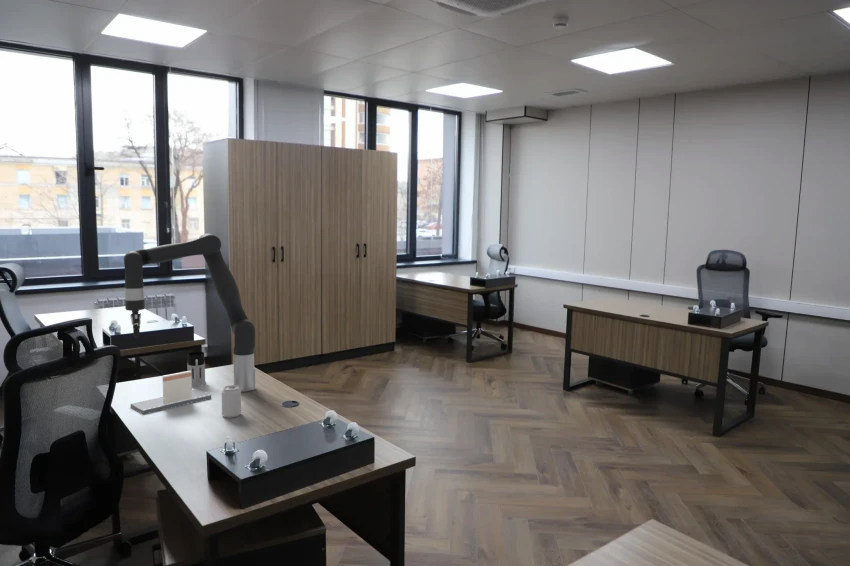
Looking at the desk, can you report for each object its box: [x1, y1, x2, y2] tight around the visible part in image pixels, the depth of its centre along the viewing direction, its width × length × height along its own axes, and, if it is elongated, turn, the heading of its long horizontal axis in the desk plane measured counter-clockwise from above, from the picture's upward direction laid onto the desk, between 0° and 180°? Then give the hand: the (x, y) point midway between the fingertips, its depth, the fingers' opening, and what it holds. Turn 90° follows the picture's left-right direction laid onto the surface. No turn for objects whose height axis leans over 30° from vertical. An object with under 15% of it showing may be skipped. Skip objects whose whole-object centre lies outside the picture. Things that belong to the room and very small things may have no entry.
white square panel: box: [162, 370, 193, 404], centre depth 254 cm, size 12×1×12 cm, turn 138°
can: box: [221, 384, 242, 419], centre depth 244 cm, size 8×8×12 cm
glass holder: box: [186, 351, 207, 387], centre depth 283 cm, size 9×14×15 cm, turn 23°
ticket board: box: [130, 388, 212, 415], centre depth 258 cm, size 30×12×2 cm, turn 138°
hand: (136, 335), depth 255 cm, fingers open, 8 cm apart
